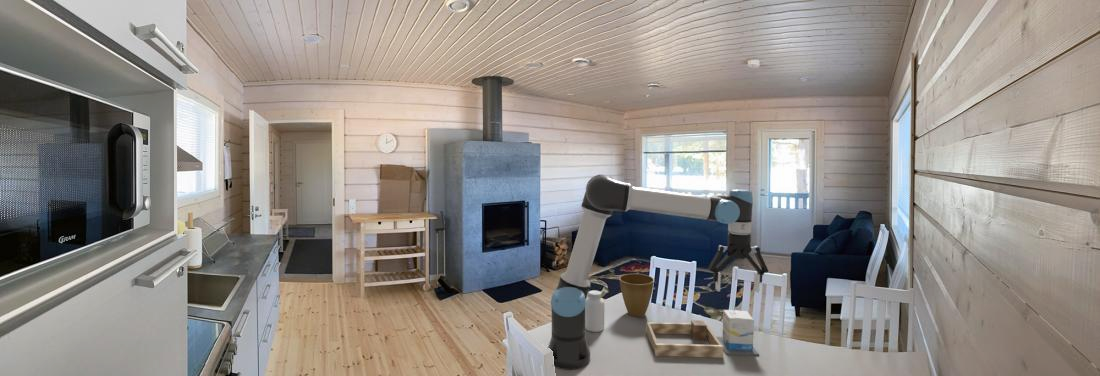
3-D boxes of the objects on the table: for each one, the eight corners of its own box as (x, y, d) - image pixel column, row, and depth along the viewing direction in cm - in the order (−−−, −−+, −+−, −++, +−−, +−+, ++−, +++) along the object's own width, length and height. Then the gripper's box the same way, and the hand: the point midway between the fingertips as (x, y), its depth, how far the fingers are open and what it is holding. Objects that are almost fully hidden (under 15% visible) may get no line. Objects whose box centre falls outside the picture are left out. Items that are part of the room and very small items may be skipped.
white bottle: (607, 326, 167) (607, 291, 165) (599, 334, 160) (599, 297, 159) (590, 322, 171) (590, 287, 170) (581, 329, 164) (581, 293, 163)
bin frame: (655, 355, 143) (655, 344, 142) (646, 332, 161) (646, 322, 161) (723, 357, 141) (723, 346, 141) (705, 333, 160) (706, 323, 159)
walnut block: (694, 340, 154) (694, 325, 154) (690, 335, 158) (691, 320, 158) (706, 340, 154) (706, 325, 153) (702, 335, 158) (703, 320, 158)
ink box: (753, 351, 144) (754, 319, 143) (728, 349, 145) (729, 318, 144) (745, 340, 152) (746, 310, 151) (722, 339, 154) (722, 309, 153)
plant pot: (618, 307, 188) (618, 273, 187) (650, 308, 187) (651, 273, 185) (620, 320, 173) (620, 283, 172) (656, 321, 172) (656, 284, 170)
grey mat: (726, 354, 143) (726, 353, 143) (714, 338, 156) (714, 336, 156) (759, 355, 142) (759, 354, 142) (744, 338, 155) (744, 337, 155)
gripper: (707, 234, 142) (704, 293, 144) (780, 235, 141) (777, 295, 143) (700, 230, 150) (698, 286, 152) (770, 231, 148) (767, 288, 150)
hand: (736, 290), depth 147 cm, fingers open, 13 cm apart
